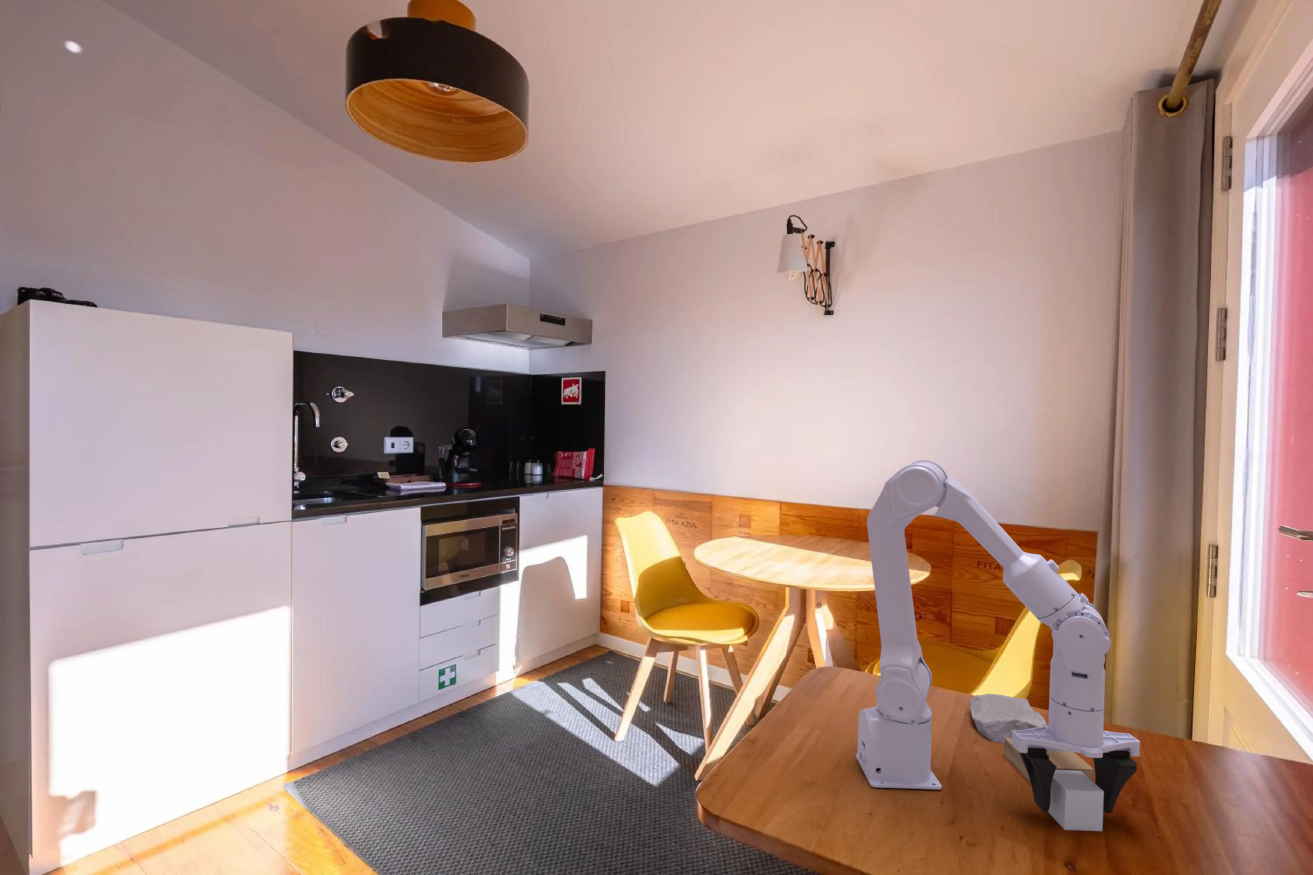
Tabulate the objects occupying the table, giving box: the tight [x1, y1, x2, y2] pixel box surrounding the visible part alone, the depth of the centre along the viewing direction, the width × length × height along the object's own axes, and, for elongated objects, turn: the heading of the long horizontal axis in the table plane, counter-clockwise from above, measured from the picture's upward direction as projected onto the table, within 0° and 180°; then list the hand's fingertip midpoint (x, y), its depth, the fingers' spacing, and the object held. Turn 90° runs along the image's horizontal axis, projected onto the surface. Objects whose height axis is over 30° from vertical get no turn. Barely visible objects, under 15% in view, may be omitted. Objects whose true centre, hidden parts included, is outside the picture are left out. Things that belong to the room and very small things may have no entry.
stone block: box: [968, 693, 1048, 745], centre depth 104 cm, size 12×5×10 cm
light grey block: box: [1047, 770, 1104, 832], centre depth 80 cm, size 4×4×5 cm
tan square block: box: [1003, 738, 1095, 784], centre depth 91 cm, size 8×8×3 cm
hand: (1072, 807), depth 80 cm, fingers open, 7 cm apart
